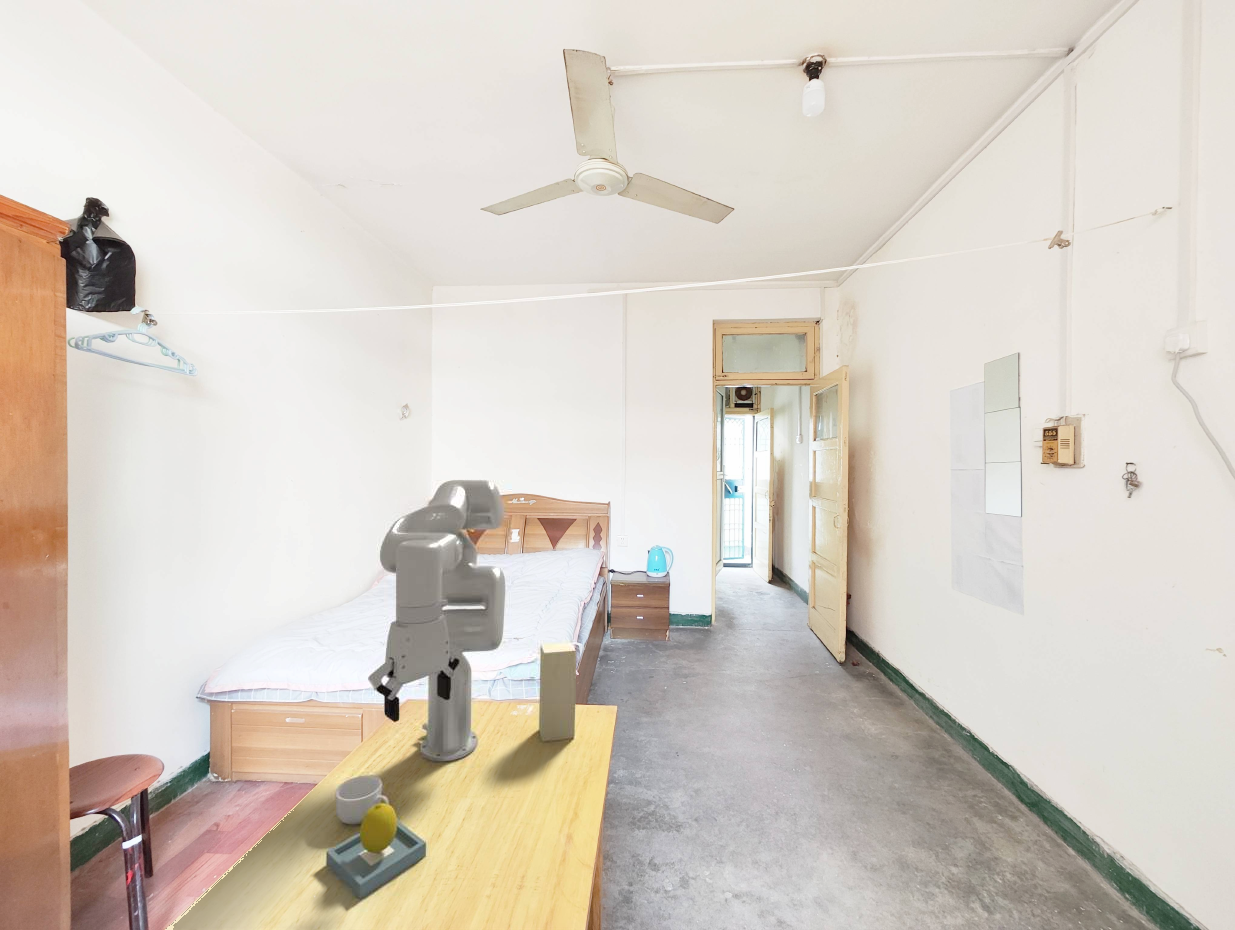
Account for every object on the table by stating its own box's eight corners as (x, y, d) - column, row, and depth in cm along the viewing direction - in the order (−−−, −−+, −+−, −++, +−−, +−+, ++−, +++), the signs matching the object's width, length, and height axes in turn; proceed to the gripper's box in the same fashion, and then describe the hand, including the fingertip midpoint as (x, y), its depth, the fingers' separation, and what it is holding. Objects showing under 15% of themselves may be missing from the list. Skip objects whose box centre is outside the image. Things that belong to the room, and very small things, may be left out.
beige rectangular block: (570, 723, 131) (570, 640, 131) (575, 738, 124) (576, 650, 124) (538, 727, 129) (539, 643, 129) (542, 742, 122) (543, 653, 122)
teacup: (324, 827, 93) (325, 797, 93) (355, 800, 100) (355, 772, 100) (373, 836, 91) (373, 805, 91) (400, 808, 98) (401, 779, 98)
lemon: (367, 841, 88) (368, 794, 88) (401, 839, 88) (401, 792, 88) (353, 866, 82) (354, 816, 82) (389, 864, 83) (390, 814, 83)
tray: (326, 864, 84) (326, 851, 84) (390, 827, 93) (390, 815, 93) (360, 899, 77) (360, 884, 77) (425, 855, 86) (426, 842, 86)
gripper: (450, 596, 99) (450, 684, 100) (358, 619, 86) (359, 720, 87) (473, 604, 95) (473, 696, 95) (381, 629, 81) (381, 736, 82)
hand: (419, 707), depth 91 cm, fingers open, 9 cm apart
